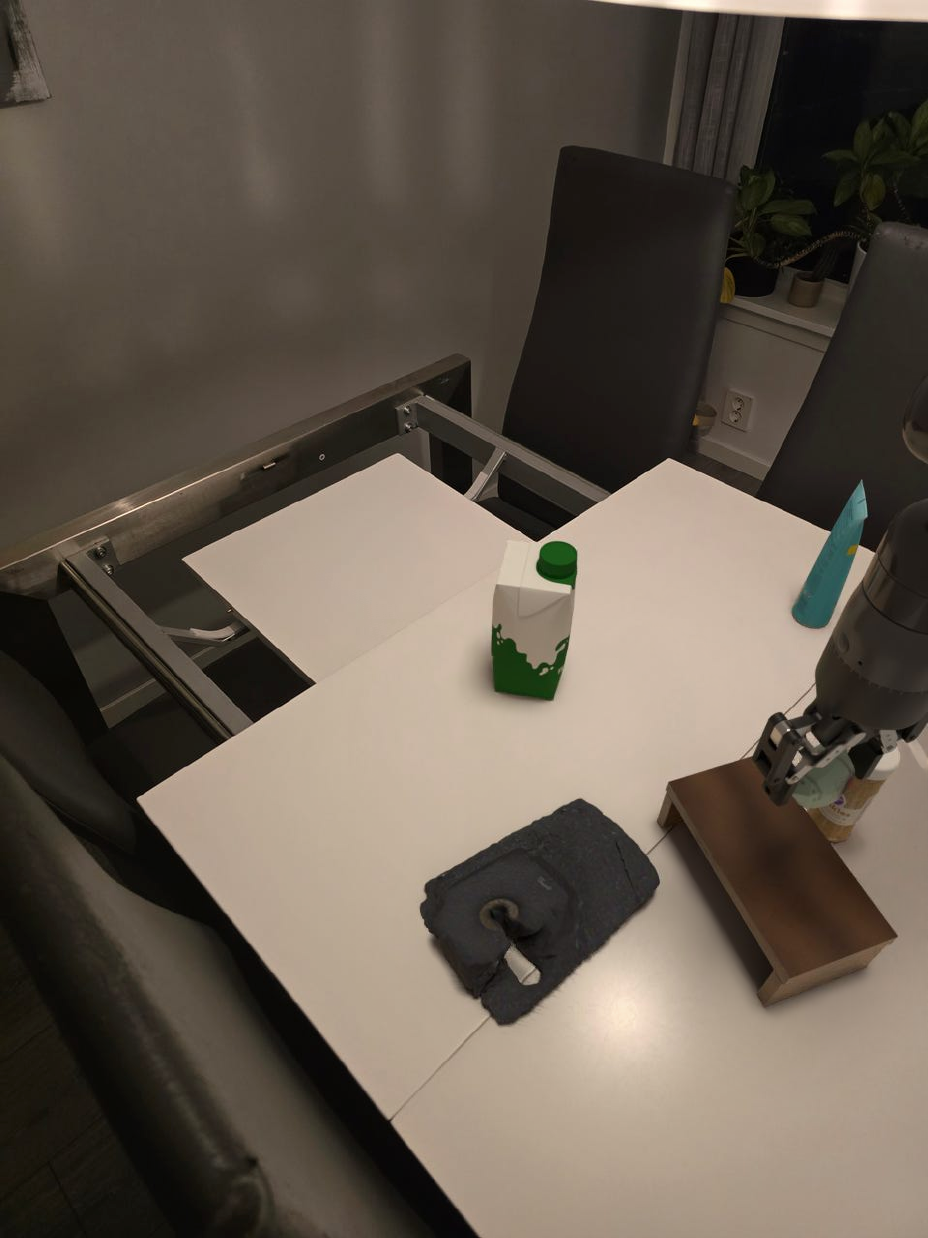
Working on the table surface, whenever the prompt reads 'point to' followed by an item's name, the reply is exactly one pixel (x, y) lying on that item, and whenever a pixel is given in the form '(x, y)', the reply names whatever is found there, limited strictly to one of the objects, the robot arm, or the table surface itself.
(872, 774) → the sprinkles bottle
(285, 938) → the table surface
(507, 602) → the milk carton
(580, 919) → the dark slate chunk
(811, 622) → the tube
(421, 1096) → the table surface
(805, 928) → the shelf
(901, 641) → the robot arm
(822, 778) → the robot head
